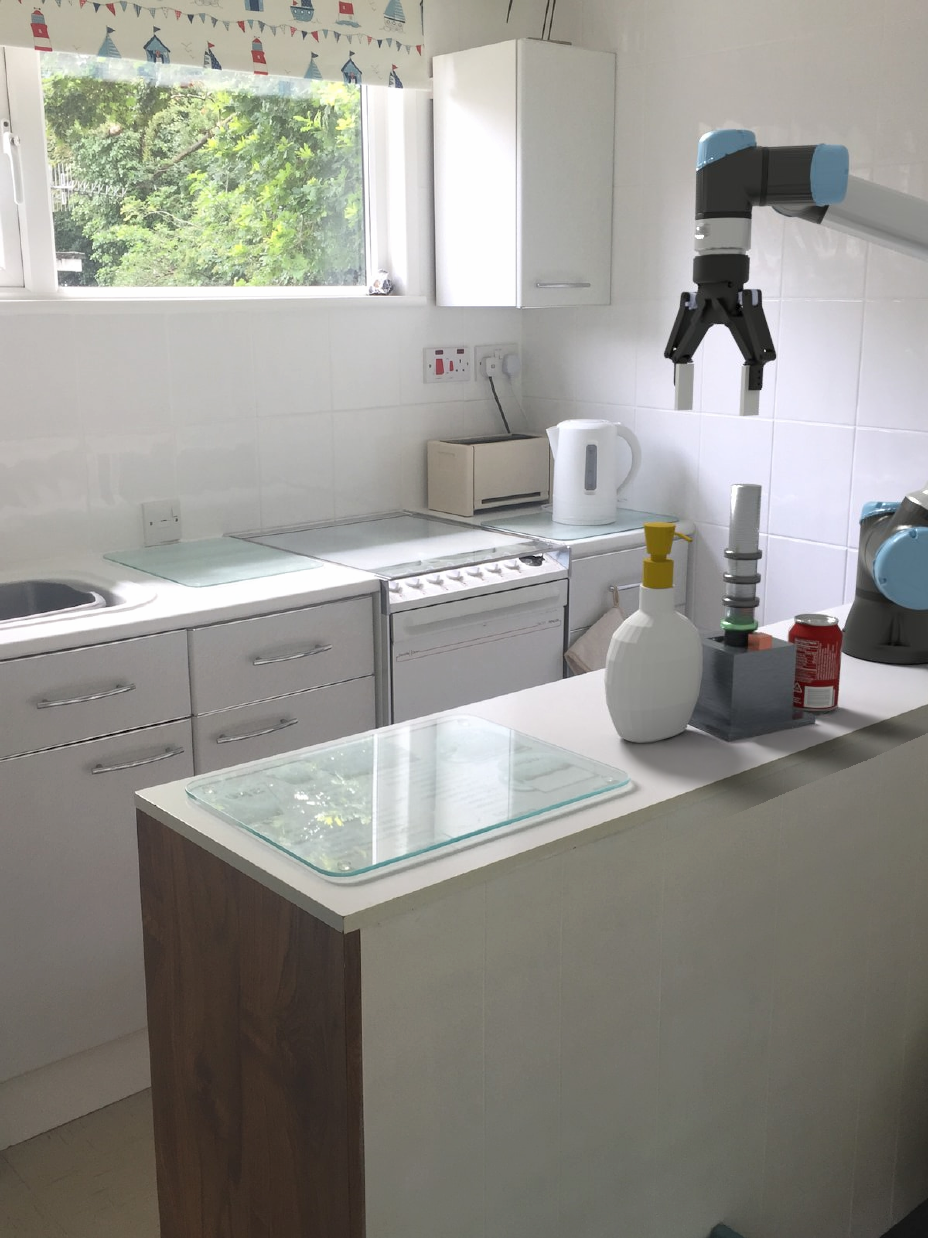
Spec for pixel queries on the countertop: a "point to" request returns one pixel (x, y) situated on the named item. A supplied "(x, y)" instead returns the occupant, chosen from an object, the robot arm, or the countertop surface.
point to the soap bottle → (654, 653)
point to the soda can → (816, 662)
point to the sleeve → (747, 687)
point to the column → (742, 565)
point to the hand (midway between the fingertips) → (715, 413)
